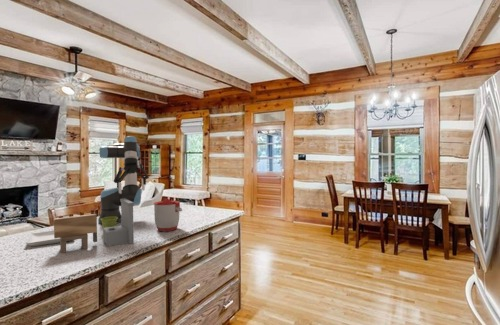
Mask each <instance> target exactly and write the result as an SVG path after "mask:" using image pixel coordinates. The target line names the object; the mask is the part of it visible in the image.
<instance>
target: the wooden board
mask: <svg viewBox="0 0 500 325" xmlns="http://www.w3.org/2000/svg"><path fill="white" fill-rule="evenodd" d="M97 215H98V214H97V213H92V214H83V215H73V216H67V217H66V216H65V217H57V218H56V217H55V218H53V230H54V238H61V237H68V236H75V235H81V234H92V241H93V243H96V242H98V218H97V217H98V216H97Z"/></svg>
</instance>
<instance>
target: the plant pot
mask: <svg viewBox="0 0 500 325" xmlns="http://www.w3.org/2000/svg"><path fill="white" fill-rule="evenodd" d="M117 219H118V217H104V218H101V221H102V224H101V225H102V229H103V228H106V227H113V226H117V223H116V221H117Z"/></svg>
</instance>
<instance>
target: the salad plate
mask: <svg viewBox="0 0 500 325" xmlns="http://www.w3.org/2000/svg"><path fill="white" fill-rule="evenodd" d="M58 243H60V238H54V229H53V230H48V231H41V232H33V233H31V234H29V237H28V239H27V240H26V241H25V244H26V245H28V246H32V247H36V246H37V247H39V246H44V245H52V244H58Z"/></svg>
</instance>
